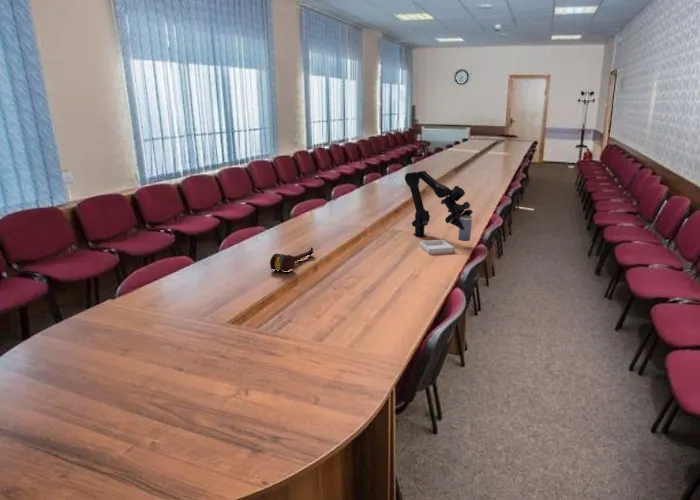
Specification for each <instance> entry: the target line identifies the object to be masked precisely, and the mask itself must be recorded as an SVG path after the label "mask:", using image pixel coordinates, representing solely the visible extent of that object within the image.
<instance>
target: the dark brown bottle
mask: <svg viewBox="0 0 700 500" xmlns="http://www.w3.org/2000/svg"><path fill="white" fill-rule="evenodd" d="M312 253H313V254H314V248H313V247H312V246H311V247H310V250H308V251H305V252H303V253H301V254H297V255H295V256H294V255H291V254H284V253H282V254H281V253H275V254H273V255H272V256H271V258H270V260H269V266H270V269H271V270H272V269H275V270H276V269H277V270H281V271H280V272H282V270H283V271H288V270H290V269H292V268H293V269H295V268H294V267H295V263H296V262H295V261H297V260H300V259H301V258H302V259H304V258H303V257H305V256H307V255H311V254H312ZM305 258H306V257H305Z"/></svg>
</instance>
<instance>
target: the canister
mask: <svg viewBox="0 0 700 500" xmlns="http://www.w3.org/2000/svg"><path fill="white" fill-rule="evenodd" d="M460 222H461V224H462V226H463V227H464V230H462V229H460V228H458V237H457V239H458V240H459V241H462V242H469V241H471V235H472V227H471V226H472V223H473V216H471V215H470V216H460Z"/></svg>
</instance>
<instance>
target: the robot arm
mask: <svg viewBox="0 0 700 500" xmlns="http://www.w3.org/2000/svg"><path fill="white" fill-rule="evenodd" d="M420 180H422V181H423V182H424V183H425V184H426V185H428V187H430V188H431V189H432V190H433V192H434V194H435V196H437V198H439V199H441V200H440V205H445V207H446V208H447V213H450V214H448V216H446V217H445V219H444V220H445V223H446V224H450V225H453V226H455V227H457V228H458V229H459V228H460V229H462V230H464V227H463V226H462V224H461V222H460V216H471V215H472V214H473V213H474V212H473V210H472V209H470V207H471V204H470V202H469V201H465V202H463V203H462V204H460V203H457V202H458V201H459V200H460V199H462V198H463V196H465V194H466V193H465V192H466V191H465V190H464V189H463V188H461V187H460V186H459V185H455V186H454V187H453V188H452V189H450V188H449V187H448V186H446V185H445V184H442V183H440V182H438V181H437V180H436V179H435V178H433V177H432V176H431V175H430V174H429V173H428V172H427V171H426V170H419V171H417V172H416V171H413V172H406V174H405V175H404V181H405V184H407V185H406V186H408V187H409V188H410V192H411V196H412V201H413V204H414V209H415V212H414V220H413V221H412V222H411V226H412V227H414V233H412V235H413V236H415V237H416V238H420V237H427V235H426V234H425V226H428V223H429V222H430V218H431V215H430V214H429V210H426V209H425V206H424V203H423V199H422V195H421V191H420V187H419V184H420ZM442 198H444V199H442ZM471 228H473V226H472V225H471Z"/></svg>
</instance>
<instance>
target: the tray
mask: <svg viewBox="0 0 700 500" xmlns="http://www.w3.org/2000/svg"><path fill="white" fill-rule="evenodd" d="M418 243H419V245H418V246H419V247H420V248H421V249H422V250H423V251H425V252H426V253H427V254H428V255H441V254H452V253H453V254H454V253H455V246H453V245H452V244H450V243H448V242H447V241H446V240H445V239H434V240H433V239H432V240H420V241H419V242H418Z"/></svg>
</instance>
